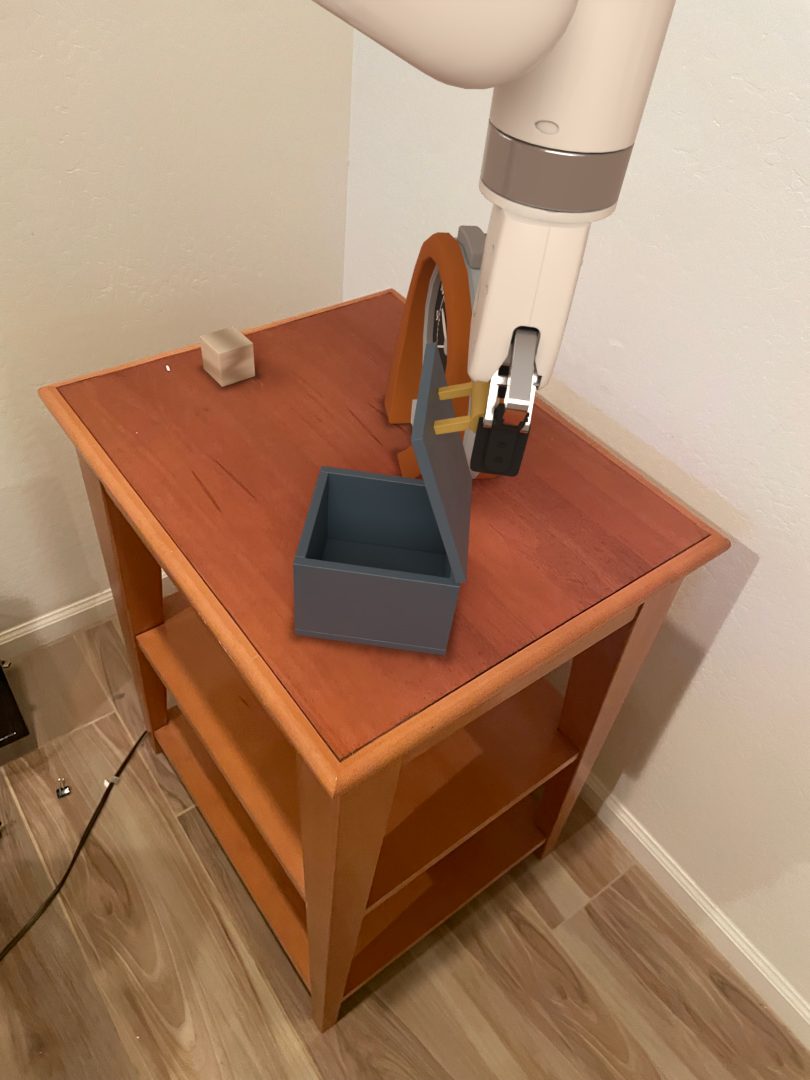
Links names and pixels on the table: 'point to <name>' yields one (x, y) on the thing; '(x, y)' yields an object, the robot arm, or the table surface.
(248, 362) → the block
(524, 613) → the table surface
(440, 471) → the lid
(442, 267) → the alarm clock
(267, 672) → the table surface
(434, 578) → the chest
